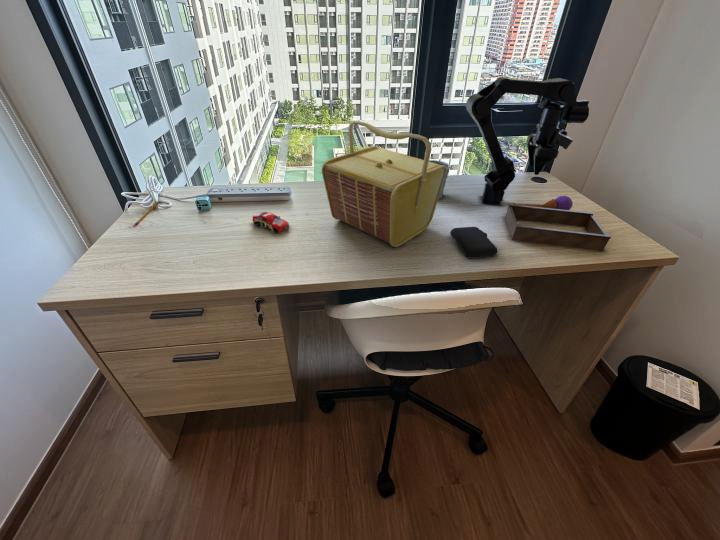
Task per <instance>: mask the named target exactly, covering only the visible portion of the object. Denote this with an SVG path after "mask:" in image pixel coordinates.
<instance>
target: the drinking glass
mask: <svg viewBox="0 0 720 540" xmlns="http://www.w3.org/2000/svg"><path fill="white" fill-rule="evenodd" d="M429 162H432V163H436V164H439V165H444V166H446V167H447V173H446V176H445V179H444V183H443V186H442V189H441V192H440V195H439V199H438V200H440V199H442V197H443V194H444V190H445V187H446V182H447V179H448V176H449V172H450V170H451V169H450V168H451V165H450V164H449V163H447V162H445V161H441V160H436V159H431V160H430V159H429Z"/></svg>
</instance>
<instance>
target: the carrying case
mask: <svg viewBox="0 0 720 540" xmlns="http://www.w3.org/2000/svg"><path fill="white" fill-rule="evenodd" d="M450 236H451V237H452V239H453V240H454V241H455V242H456V244H457V246H458V247H459V248H460V249H461V251H462V253H463V254H464V255H465V256H466V257H467V258H469V259H477V258H478V259H479V258H489V257H495V256H496V255H497V254H498V247H497V246H496V245H495V244H494V243H493V242H492V241H491V239H489V237H488V233H486V232H485V231H483V230H482V229H480V228H479V227H478V226H462V227H454V228H452V229H451V230H450Z"/></svg>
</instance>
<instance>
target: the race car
mask: <svg viewBox="0 0 720 540" xmlns="http://www.w3.org/2000/svg"><path fill="white" fill-rule="evenodd" d="M252 223H253V224H254V225H255V226H256V227H257V228H262V229H265V230H268V231H271V232H274V233H275V234H280V233H281V234H282V233H284V232H287V231H288V230H289V229H290V224H289V221H287V220H285V219H282V218H281V216H280V215H277V214H274V213H272V212H268V211H260V212H256V213H255V214H253V215H252Z"/></svg>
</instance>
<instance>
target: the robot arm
mask: <svg viewBox="0 0 720 540" xmlns="http://www.w3.org/2000/svg"><path fill="white" fill-rule="evenodd" d="M575 86H576V85H575V83H574V81H572V80H569V79H565V78H561V77H556V78H547V79H544V80H534V79H533V80H532V79H519V78H510V77H509V78H508V77H504V76H500V77H497V79H495V80H494V81H493V82H492V83H490V84H488V85H487V86H485V87H483V88H481V90H479V91H478V92H477V93H474V94H471V95H470V96H468V98H467V100H466V103H465V109H466V111H467V112H468V114H469V116H470V117H471V118H472V120H473V121H474V123H475V124H476V125H477V127H478V129H479V132H480V135H481V136H482V137H481V138H482V140H483V142H484V143H483V144H484V145H485V148H486V150H487V153H488V156H489V158H490V162H491V163H490V171H489V172H487V173H486V174H485V175H484V177H483V179H484V182H486V183H485V184H484V188H483V192H482V195H480V199H481V203H482V204H483V205H492V206H501V204H502V203H503V199H504V196H505V192H506V190H507V188H508V187H509V185H510V184H511V183H512V182H513V181H514V180H515V178H516V173H517V170H516V168H515V163H514V161H513V160H512V159H511V158H509V157H508V156H507V155H504V152H503V149H502V146H501V143H500V141H499V138H498V136H497V132H496V130H495V128H494V124H493V121H492V115H493V112H492V108H493V107H494V106H495V105H496V104H498V102H499V101H500V100H501V98H502V97H504V95H506V94H515V95H527V96H528V95H529V96H541V97H544V98H545V99H544V100H543V101H541V102H540V103H539V104H538V105H537V107H539V108H540V109H543V111H542V113H541V116H540V117H541V118H540V120H539V123H537V124H536V126H535V127H536V133H530V134H529V135H527V138H526V148H527V155H528V166H529V167H533V171H534V173H533V174H534V175H535V176H538V175H539V174H540V173H541V171H542V170H543V169H544V167H545V166H546V164H547V163H548V162H549V161H553V160H555V159H557V158H558V156H559V153H560V151H559V149H558V148H557V147H556V145H557V146H560V147H561V148H563V149H564V150H568V148H569V147H570V146H571V145H572V143H573V142H574V139H572V137H570V136H568V131H567V130H565V129H560V128H559V125H560V123H562V124H571V125H573V124H574V125H575V124H577V125H578V124H581V125H582V124H584V123H585V122H586V121H587V120H588V118H589V116H590V106H589V104H590V100H586V99H581V100H580V99H579V100H578V99H577V97H576V93H575V89H576V88H575ZM550 100H554V101H550ZM560 103H561V104H563V105H561V104H560Z"/></svg>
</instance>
